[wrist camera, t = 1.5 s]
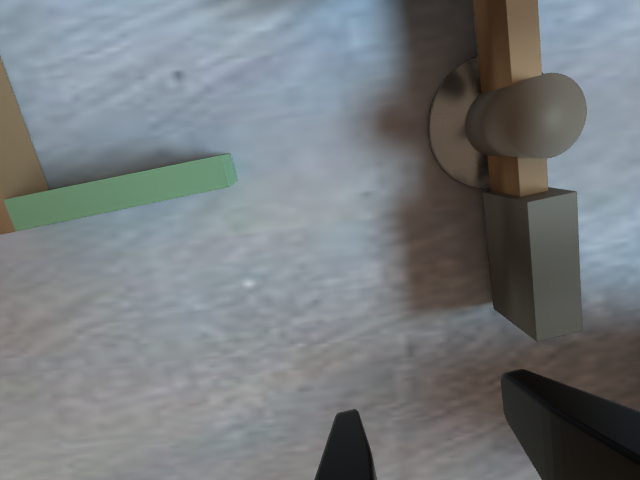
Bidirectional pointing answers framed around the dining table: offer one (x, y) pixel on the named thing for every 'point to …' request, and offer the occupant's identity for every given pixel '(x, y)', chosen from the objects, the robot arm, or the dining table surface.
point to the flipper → (526, 171)
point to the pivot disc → (457, 126)
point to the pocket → (92, 197)
